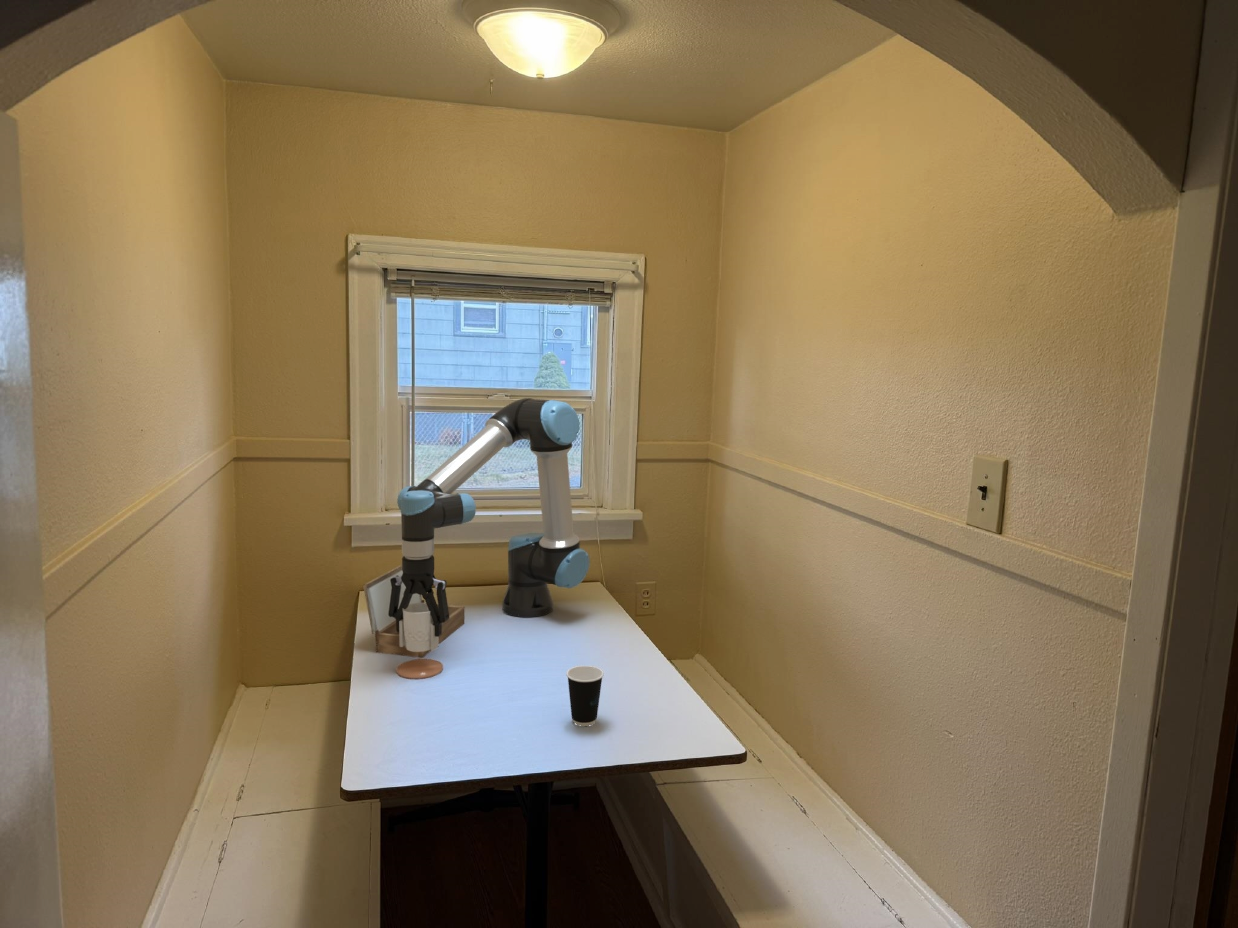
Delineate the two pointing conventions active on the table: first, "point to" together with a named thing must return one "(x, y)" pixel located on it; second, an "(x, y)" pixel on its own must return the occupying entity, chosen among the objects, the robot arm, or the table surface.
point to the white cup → (417, 627)
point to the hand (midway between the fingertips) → (419, 646)
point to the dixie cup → (584, 693)
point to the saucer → (419, 668)
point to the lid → (383, 599)
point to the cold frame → (391, 645)
